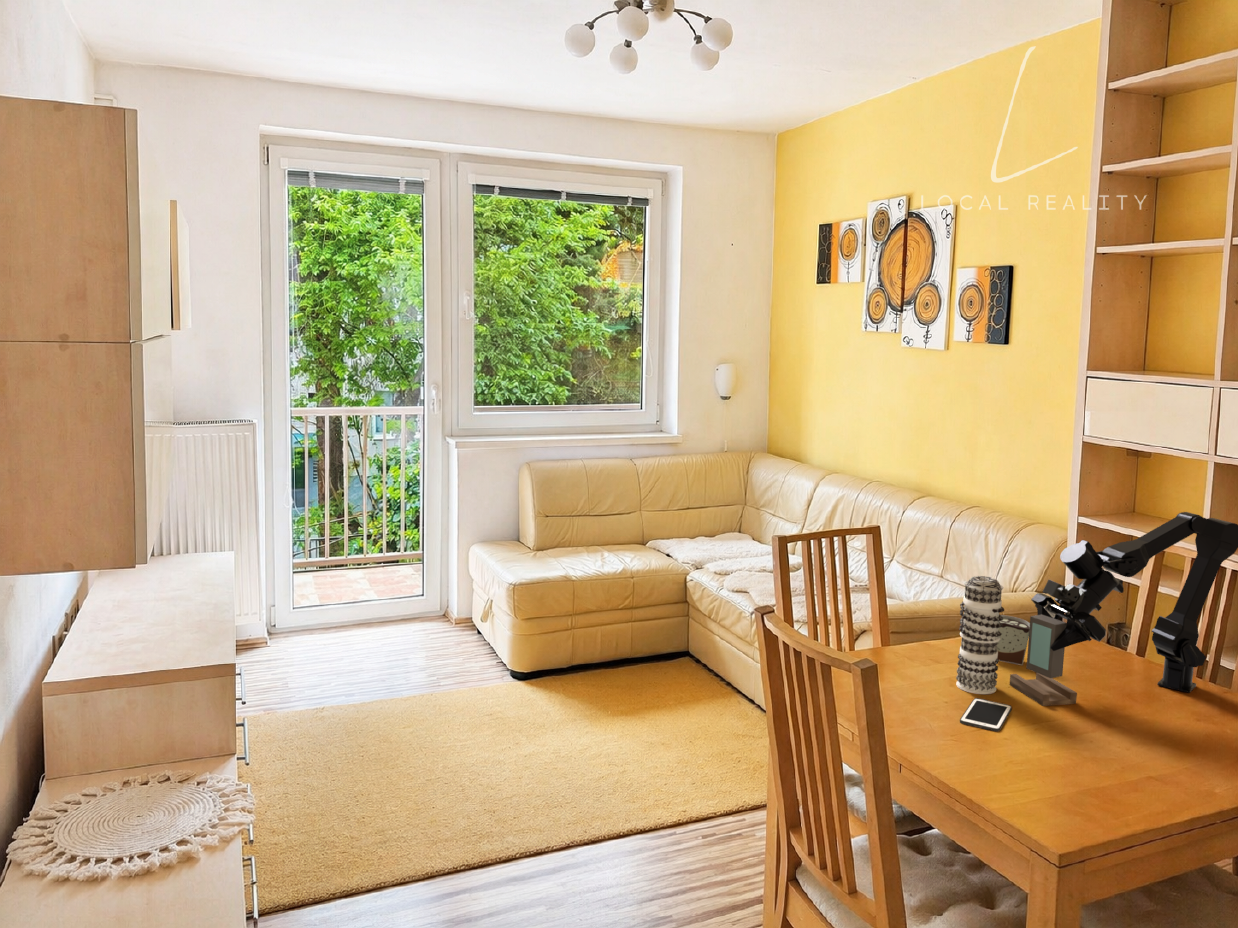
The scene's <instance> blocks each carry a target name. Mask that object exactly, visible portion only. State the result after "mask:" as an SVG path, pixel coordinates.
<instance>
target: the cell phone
mask: <svg viewBox="0 0 1238 928" xmlns="http://www.w3.org/2000/svg"><path fill="white" fill-rule="evenodd" d="M1011 711H1012V705H1011V704H1007V703H1003V702H998V701H994V700H993V701H992V700H989V699H984V698H979V697H975V698H973V699H972V701H971V702H970V704H969V705H968V706H967V708H966V710H965V711H964V712H963V714H962V716H961V717H960V719H959V723H960V724H962V725H965V726H970V727H972V728H973V727H974V728H975V727H976V728H979V729H982V730H986V731H990V732H997V733H998V732H1000V731H1001V729H1002V728H1003V726H1004V724H1005V722H1006V721H1007V719H1008V717H1009V715H1010V713H1011Z"/></svg>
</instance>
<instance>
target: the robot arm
mask: <svg viewBox="0 0 1238 928" xmlns="http://www.w3.org/2000/svg"><path fill="white" fill-rule="evenodd" d="M1193 534H1195V539H1194V543H1195V549H1196V552H1197V553H1196V556H1195V558H1194V561H1193V563H1192V565H1191V568H1190V571H1189V573H1188V575H1187V578H1186V579H1185V581H1184V584H1183V587H1182V589H1181V592H1180V594H1179V596H1178V598H1177V600H1176V603H1175V605H1174V608H1173V610H1172V612H1171V613H1169V614H1168V615H1167V616H1165V617H1163V616H1162V615H1159V617H1158V618H1156V622H1155V625H1154V627H1153V628H1152V629H1151V633H1152V636H1151V641H1152V642H1153V645H1154V646H1155V651H1156V654H1158V655H1159V656H1162V657H1164V662H1163V663H1164V664H1163V673H1162V678H1161V679H1160V680H1159V681H1158V682H1157V686H1160V687H1162V688H1163V687H1164V688H1166V689H1167V688H1168V689H1171V690H1176V691H1180V692H1185V693H1191V692H1192V691H1193V690H1194V689H1195V688H1196V687H1197V683H1196V682H1193V678H1194V677H1193V675H1194V668H1198V667H1203V666H1204V663H1205V662H1206V659H1207V656H1206V655H1205V654H1204V652H1202V650H1201V649H1200V648H1199V647H1198V645H1197V644H1198V641H1199V637H1200V636H1199V628H1198V620H1199V616H1200V614H1201V613H1202V609H1203V607H1204V605H1205V603H1206V601H1207V598H1208V597H1209V596H1208V595H1209V593H1210V591H1211V589H1212V587H1213V583H1214V582H1215V580H1216V577H1217V576H1218V572H1219V570H1220V568H1221V566H1222V563H1224V562H1225V561H1226V560H1227V559H1229V558H1230V557H1231V556H1233V555H1234V554H1235V553H1236V551H1237V550H1238V524H1237V523H1234V522H1230V521H1227V520H1222V519H1219V518H1215V517H1209V518H1206V517H1203V516H1202V515H1200V514H1197V513H1196V514H1195V513H1192V512H1188V511H1183V512H1179V513H1177V514H1176V516H1175V517H1173V518H1172V519H1169V520H1168V521H1167V522H1164V523H1163V524H1161V525H1159V526H1157V527H1155V528H1154V529H1152V530H1150V531H1149V532H1147V533H1145V534H1143V535H1141V536H1140V537H1138V538H1136V539H1133V540H1129V541H1128V540H1127V541H1121V542H1117V543H1115V544H1114V543H1113V544H1112V545H1110V546H1107V547H1105V548H1104V549H1103V550H1100V551H1096V550H1095V549H1094V546H1093V545H1092V543H1090V541H1088V540H1084V539H1082V540H1081V541H1080V542H1079V543H1077V542H1076V543H1073V544H1071V545H1069V546H1067V547H1065V548H1064V549H1063V550H1062V551H1061V552H1060V557H1059V559H1060V560H1061V563H1063V564H1064V565H1065V566H1066V567H1067V569H1068V570H1069V571H1070V572H1071V574H1073V576H1074V577H1075V578H1077V579H1078V580H1081V581H1080V582H1079V583H1078V584H1076V585H1075V584H1071V583H1069V584H1067V585H1066V586H1065V585H1063V584H1061V583H1058V582H1056V581H1053V580H1052V579H1047V582H1046V583H1045V585H1044V588H1043V589H1042V592H1038V593H1035V595H1034V596H1033V597H1031V601H1032V603H1033V604H1034V605H1035V606H1034V607H1035V608H1036V611H1037V615H1041V614H1042V615H1045V616H1048V617H1051V618H1054V619H1057V620H1060V618H1062V619H1065V620H1066V623H1067V624H1066V628H1065V629H1064V631H1063V632H1062V633H1061V634H1060V635H1059V637H1058V638H1057V639H1056V640H1055V641H1054V643H1053V644H1052V645H1051V647H1050V648H1051V649H1052V650H1053V651H1056V650H1059V649H1061V648H1064V647H1065V648H1068V647H1070V646H1073V645H1077V644H1080V643H1085V642H1090V641H1092V640H1094V641H1097V642H1098V643H1100V642H1101V641H1102V640H1103V639H1104V638H1105V637H1106V635H1107V630H1106V628H1105V627H1104V626H1103V624H1101V622H1100V621H1099V620H1098V618H1096V617H1095V616H1094V615H1092V614H1091V613H1092V612H1093V611H1094V610H1096V611H1098V612H1099V611H1101V609H1102V606H1101V605H1100V604H1101V603H1102V602H1103V601H1104V600H1105V599H1106V598H1107V597H1108V596H1109V595H1110V594H1111V593H1112V591H1114V592H1118V593H1120V594H1124V591H1125V590H1124V580H1122V579H1119V578H1117V577H1115V575H1114V574H1117V575H1120V576H1122V577H1125V578H1132V577H1134V576H1137V574H1138V573H1140V572H1141V571H1142V570H1143V569H1145V568H1146V567H1147V565H1148V564H1149V561H1150V560H1151V559H1152V558H1153V557H1155V556H1157V555H1158V554H1160V553H1161V552H1163V551H1165V550H1167V549H1168V548H1169V549H1170V547H1172V546H1175V544H1177V543H1179V542H1181V541H1183V540H1184V539H1186V538H1188V537H1190V536H1192V535H1193ZM1113 573H1114V574H1113ZM1047 594H1048V595H1047ZM1053 598H1054V599H1053Z"/></svg>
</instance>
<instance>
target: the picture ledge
mask: <svg viewBox="0 0 1238 928" xmlns="http://www.w3.org/2000/svg"><path fill="white" fill-rule="evenodd" d="M1009 685H1010V687H1011V688H1014V689H1015V690H1016V691H1018V692H1020V693H1022V694H1023V695H1025V696H1026V697H1028V698H1029V699H1031V700H1033V702H1035V703H1037V704H1039V705H1041V706H1042V707H1046V706H1047V707H1048V706H1060V705H1063V706H1064V705H1075V704H1077V696H1078V692H1077V691H1076V690H1073V689H1072V688H1070V687H1068V686H1066V685H1064V684H1063V683H1061V682H1060V681H1058V680H1056V679H1055V678H1049V677H1046V676H1044V675H1041V674H1039V673H1036V672H1035V678H1034V679H1031V678H1030V679H1025V678H1024V677H1022V676H1020V675H1019V674H1018V673H1011V674H1009Z"/></svg>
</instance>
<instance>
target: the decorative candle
mask: <svg viewBox="0 0 1238 928" xmlns="http://www.w3.org/2000/svg"><path fill="white" fill-rule="evenodd" d="M963 584H964V587H965V588H964V596H963V599H962V602H961V603H960V604H959V606H960V610H959V615H960V616H961V618H960V619H959V624H960V625H959V628H958V630H959V631H960V632H959V635H960V637H961V639H960V640H961V641H960V647H959V654H958V655H957V658H958V660H957V665H958V667H957V668H956V673H957V675H956V676H955V677H956V678H955V679H956V682H955V684H956V687H957V688H958V689H959V690H961V691H964V692H967V693H971V694H976V695H991V694H994V693H995V692H996V691H997V687H996V686H997V685H998V684H997V683H998V680H997V679H998V673H997V671H998V670H999V669H998V668H999V666H998V664H999V662H1000V661H999V660H998V659H997V657H998V651H997V645H998V642H999V640H1000V637H999V636H1001V633H1000V632H999V631H998V628H1000V627H1002V623H1000V622H999V621H1001V620H1003V617H1002V616H1001V615H1002V614H1000V613H1002V612H1005V608H1004V607H1003V606H1002V605H1003V604H1002V603H1003V601H1002V591H1003V589H1004V586H1003V585H1001V584H1000V582H999V581H998V579H996V578H994V577H991V576H985V575H984V576H983V575H977V576H971V578H969V580H968V581H965V582H964V583H963Z"/></svg>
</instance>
